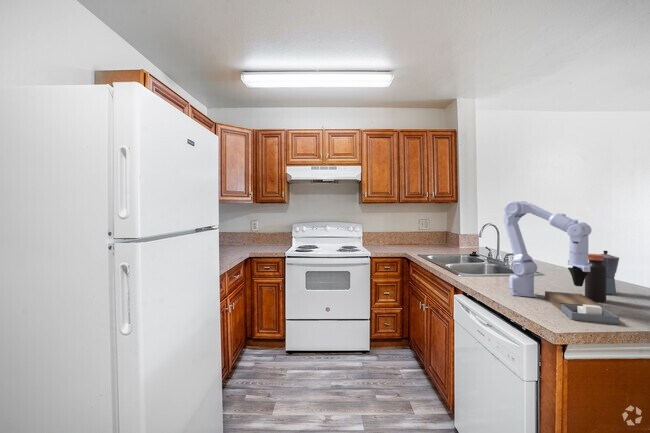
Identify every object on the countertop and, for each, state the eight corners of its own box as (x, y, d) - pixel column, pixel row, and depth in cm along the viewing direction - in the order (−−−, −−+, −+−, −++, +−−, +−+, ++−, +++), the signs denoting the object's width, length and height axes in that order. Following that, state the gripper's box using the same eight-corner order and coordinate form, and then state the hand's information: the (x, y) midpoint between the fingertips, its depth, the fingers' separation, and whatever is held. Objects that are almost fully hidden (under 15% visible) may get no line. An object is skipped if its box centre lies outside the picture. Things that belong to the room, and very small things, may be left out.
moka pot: (626, 293, 131) (627, 251, 131) (604, 297, 127) (604, 253, 126) (601, 288, 140) (601, 248, 140) (580, 291, 136) (580, 250, 135)
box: (571, 319, 102) (571, 312, 102) (560, 310, 111) (560, 304, 111) (618, 324, 97) (618, 317, 97) (603, 314, 106) (603, 308, 106)
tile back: (582, 316, 104) (582, 309, 104) (577, 312, 108) (577, 305, 108) (598, 317, 102) (598, 311, 102) (592, 313, 106) (592, 307, 106)
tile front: (582, 316, 104) (586, 318, 101) (582, 304, 104) (586, 306, 101) (598, 317, 102) (602, 320, 100) (598, 305, 102) (602, 307, 100)
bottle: (610, 303, 119) (611, 256, 118) (591, 302, 120) (592, 255, 120) (598, 298, 125) (598, 253, 125) (580, 297, 127) (581, 253, 126)
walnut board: (560, 310, 111) (560, 302, 111) (544, 297, 127) (544, 291, 127) (602, 314, 106) (602, 306, 106) (581, 300, 122) (581, 294, 122)
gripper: (600, 256, 105) (600, 291, 106) (582, 250, 119) (582, 282, 119) (577, 255, 108) (576, 289, 109) (562, 249, 122) (561, 280, 122)
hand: (578, 285), depth 114 cm, fingers closed
